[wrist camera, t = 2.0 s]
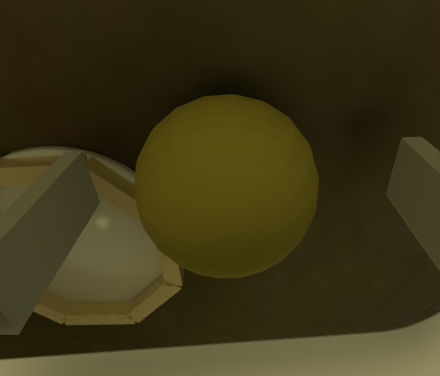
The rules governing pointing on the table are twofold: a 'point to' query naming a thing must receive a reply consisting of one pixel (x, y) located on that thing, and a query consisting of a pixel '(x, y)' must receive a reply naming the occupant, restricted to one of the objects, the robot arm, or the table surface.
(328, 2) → the table surface
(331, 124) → the table surface
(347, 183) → the table surface
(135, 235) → the socket base
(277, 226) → the light bulb
